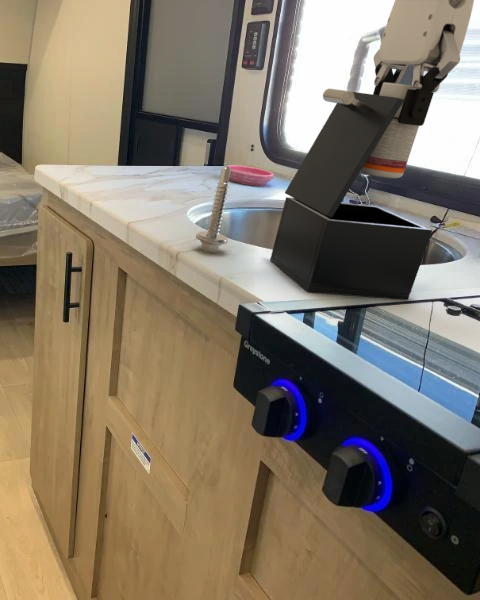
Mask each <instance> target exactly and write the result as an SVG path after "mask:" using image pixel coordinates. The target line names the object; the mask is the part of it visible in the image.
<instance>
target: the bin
mask: <svg viewBox="0 0 480 600" xmlns="http://www.w3.org/2000/svg"><path fill="white" fill-rule="evenodd" d="M432 234H433V229H430V228H428V227H426V226H424V225H422V224H419V223H418V222H414V221H412V220H410V219H408V218H407V217H403V216H401V215H399V214H396V213H394V212H392V211H390V210H387V209H385V208H383V207H381V206H377V205H376V206H375V205H368V204H359V203H349V202H341V204H340V205H339V207H338V208H337V210H336V212H335V213H334V215H333V217H332V218H331V217H329V216H326V215H325V214H323V213H321V212H319V211H317V210H315V209H313V208H312V207H310V206H308V205H306V204H304V203H302V202H300V201H299V200H297V199H295V198H293V197H290V196H289V197H288V196H287V197H285V200H284V203H283V208H282V212H281V216H280V220H279V224H278V228H277V231H276V234H275V239H274V243H273V247H272V251H271V255H270V259H269V262H270V263H272V264H273V265H274V266H276V267H277V268H278V269H279V270H280V271H281V272H283V273H284V274H285V275H286V276H287V277H289V278H290V279H291V280H292V281H294V282H295V283H296V284H297V285H298V286H300V287H301V288H302V289H303V290H304V291H306V292H307V293H314V294H327V295H341V296H351V297H365V298H378V299H379V298H380V299H391V300H404V301H405V300H406V301H408V300H409V299H410V296H411V293H412V290H413V287H414V284H415V281H416V279H417V276H418V272H419V271H420V267H421V264H422V261H423V258H424V256H425V253H426V250H427V247H428V246H429V245H428V244H429V242H430V239H431V236H432Z"/></svg>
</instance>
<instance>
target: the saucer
mask: <svg viewBox="0 0 480 600" xmlns="http://www.w3.org/2000/svg"><path fill="white" fill-rule="evenodd" d="M226 166H228V167H229V168H231V172H230V177H229V181H232V182H235V183H238V184H241V185H246V186H247V185H248V186H253V187H254V186H255V187H260V186H261V187H262V186H265V185H266V184H267V183H269V182H271V181H272V180H273V179H274V176H275V175H274V173H273V172H272V171H269V170H266V169H264V168H259V167H253V166H249V165H240V164H227V165H226Z"/></svg>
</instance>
